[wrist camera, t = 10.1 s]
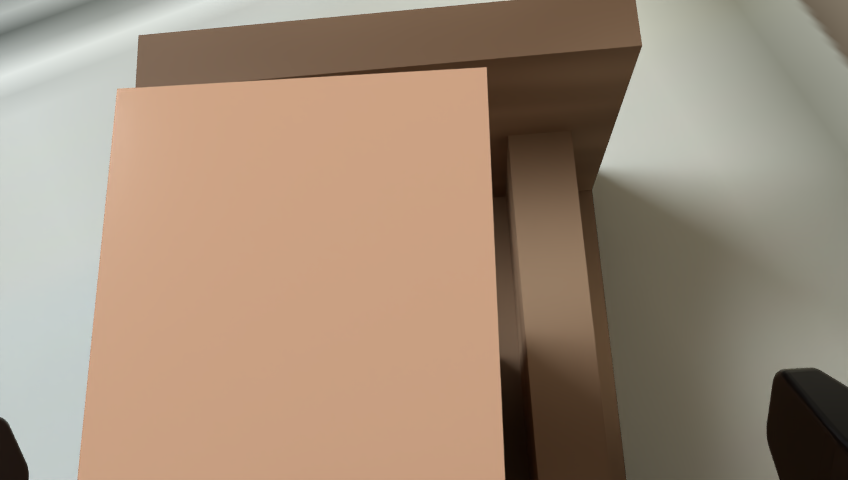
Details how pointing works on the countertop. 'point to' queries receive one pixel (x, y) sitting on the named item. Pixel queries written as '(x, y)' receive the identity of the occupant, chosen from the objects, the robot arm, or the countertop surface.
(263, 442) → the clay strip
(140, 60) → the drying rack
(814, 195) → the countertop surface
